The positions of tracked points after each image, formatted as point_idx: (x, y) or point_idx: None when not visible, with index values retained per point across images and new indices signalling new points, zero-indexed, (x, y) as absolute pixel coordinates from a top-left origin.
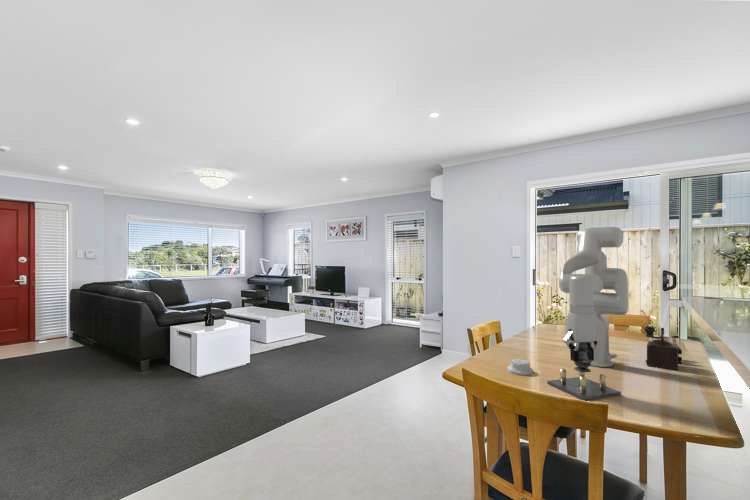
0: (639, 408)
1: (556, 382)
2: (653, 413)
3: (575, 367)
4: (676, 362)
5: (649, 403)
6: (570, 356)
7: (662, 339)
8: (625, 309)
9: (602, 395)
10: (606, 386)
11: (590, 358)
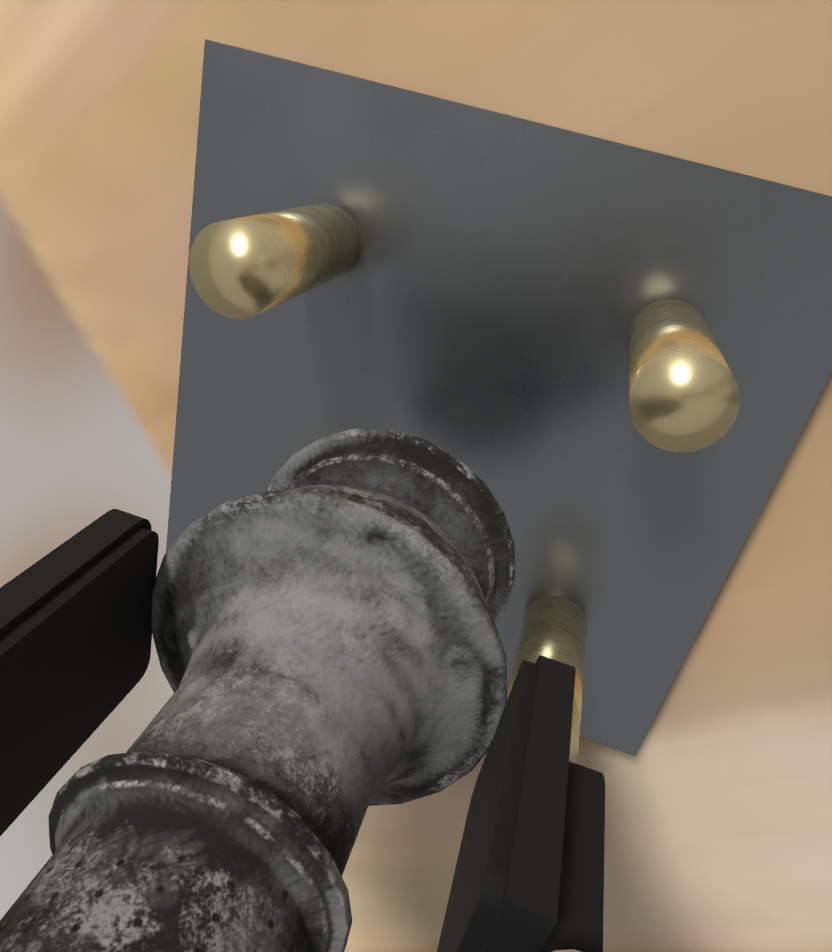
0: (441, 863)
1: (265, 167)
2: (432, 926)
3: (344, 457)
4: None
5: (632, 900)
6: (70, 539)
7: None
8: None
9: None
10: (695, 620)
11: (474, 792)
